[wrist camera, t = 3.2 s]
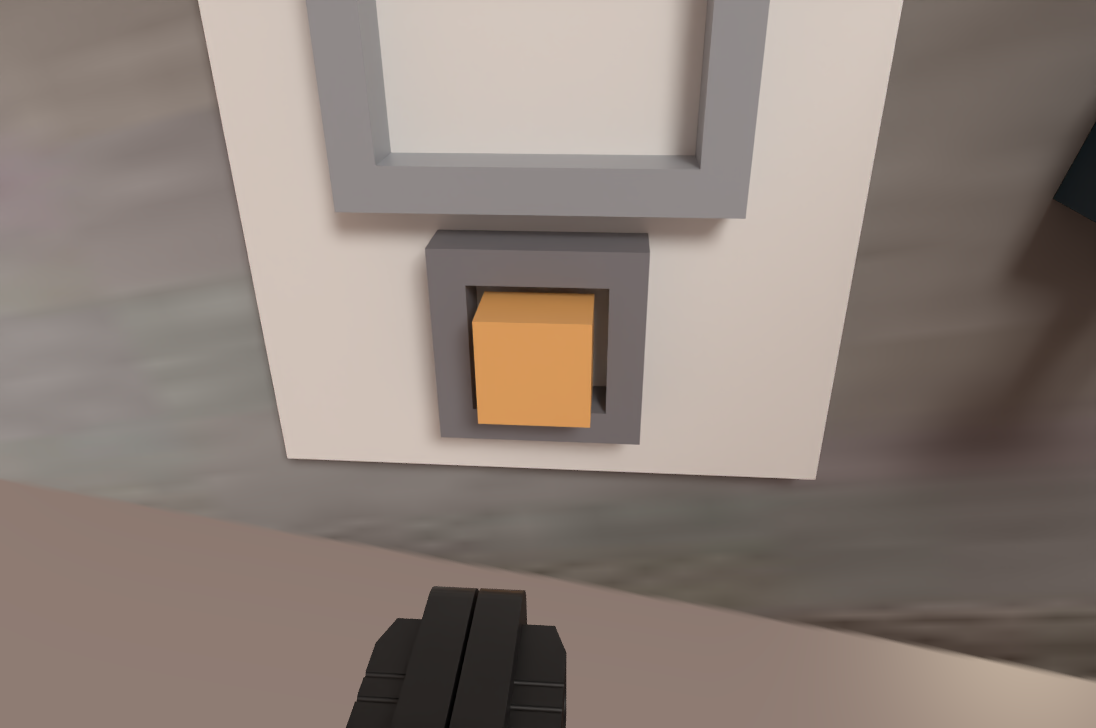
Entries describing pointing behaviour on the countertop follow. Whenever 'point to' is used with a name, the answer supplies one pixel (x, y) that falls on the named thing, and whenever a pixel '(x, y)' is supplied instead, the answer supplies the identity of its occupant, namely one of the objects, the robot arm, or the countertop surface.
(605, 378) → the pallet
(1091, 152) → the watch
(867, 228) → the countertop surface
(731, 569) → the countertop surface
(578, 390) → the button
